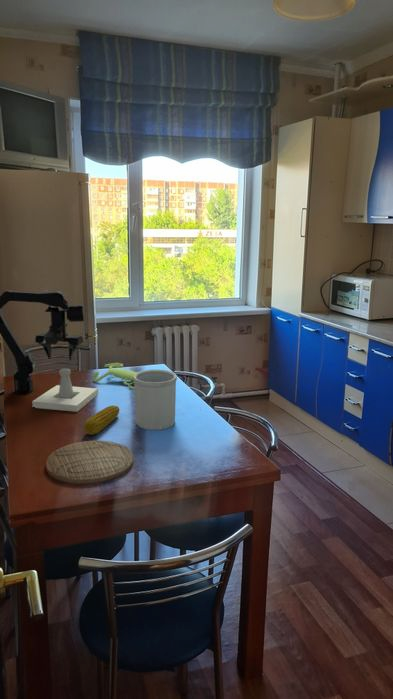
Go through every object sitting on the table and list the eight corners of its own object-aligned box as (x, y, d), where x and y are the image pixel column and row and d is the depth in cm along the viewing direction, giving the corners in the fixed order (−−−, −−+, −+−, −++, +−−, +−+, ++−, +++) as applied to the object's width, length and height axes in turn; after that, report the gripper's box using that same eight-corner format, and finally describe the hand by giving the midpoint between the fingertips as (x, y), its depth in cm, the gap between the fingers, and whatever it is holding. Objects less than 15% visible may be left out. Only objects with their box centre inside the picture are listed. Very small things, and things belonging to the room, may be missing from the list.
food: (97, 438, 167) (96, 421, 166) (81, 436, 168) (80, 419, 167) (122, 415, 187) (122, 400, 185) (108, 414, 188) (108, 398, 187)
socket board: (32, 407, 193) (32, 401, 192) (57, 390, 212) (56, 385, 211) (77, 411, 189) (76, 405, 189) (98, 394, 208) (97, 388, 208)
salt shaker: (76, 398, 203) (74, 367, 200) (71, 403, 198) (70, 371, 194) (61, 397, 204) (59, 366, 200) (56, 402, 198) (55, 370, 195)
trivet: (40, 453, 156) (40, 448, 156) (120, 441, 166) (120, 435, 166) (53, 493, 134) (53, 486, 134) (144, 475, 144) (144, 469, 144)
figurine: (110, 371, 241) (110, 359, 240) (159, 379, 230) (159, 367, 229) (86, 382, 225) (85, 369, 224) (137, 391, 214) (137, 378, 213)
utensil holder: (170, 433, 172) (170, 383, 168) (128, 428, 175) (127, 380, 170) (180, 417, 186) (181, 371, 182) (141, 413, 189) (141, 368, 185)
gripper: (26, 324, 201) (29, 363, 204) (71, 327, 197) (72, 366, 201) (40, 319, 211) (42, 356, 215) (82, 322, 207) (84, 359, 211)
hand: (60, 359), depth 210 cm, fingers open, 9 cm apart
